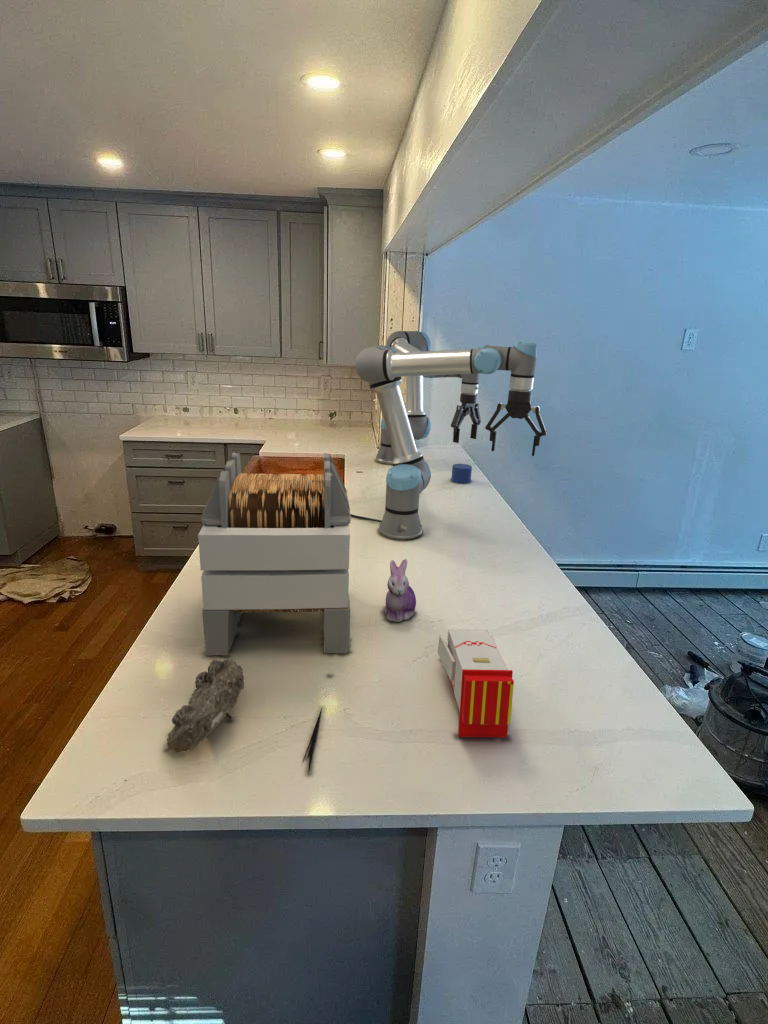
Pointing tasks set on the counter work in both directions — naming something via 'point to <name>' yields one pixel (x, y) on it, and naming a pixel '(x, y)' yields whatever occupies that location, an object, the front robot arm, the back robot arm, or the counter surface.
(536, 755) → the counter surface
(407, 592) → the figurine
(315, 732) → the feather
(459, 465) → the canister
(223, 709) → the fossil
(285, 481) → the transformer
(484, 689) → the toy
